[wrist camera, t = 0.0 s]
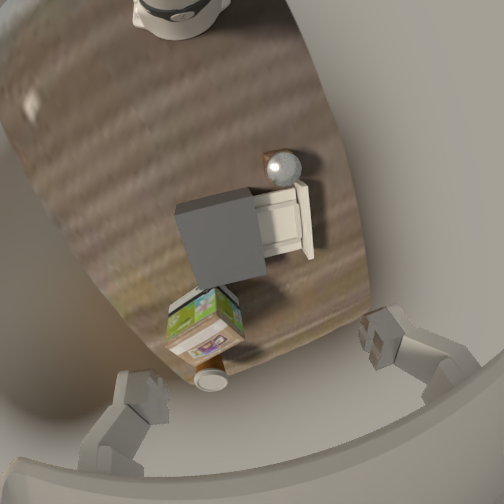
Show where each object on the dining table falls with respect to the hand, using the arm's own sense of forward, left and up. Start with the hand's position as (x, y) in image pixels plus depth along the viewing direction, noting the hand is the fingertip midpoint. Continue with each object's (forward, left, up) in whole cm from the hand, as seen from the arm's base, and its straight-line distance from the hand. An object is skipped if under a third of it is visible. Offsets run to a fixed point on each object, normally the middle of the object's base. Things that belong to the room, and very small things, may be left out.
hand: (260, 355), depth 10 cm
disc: (+5, +12, -43) cm, 45 cm away
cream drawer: (+18, +9, -48) cm, 52 cm away
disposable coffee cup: (+54, -15, -48) cm, 74 cm away
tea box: (+35, -11, -48) cm, 61 cm away
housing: (+18, -2, -48) cm, 51 cm away
